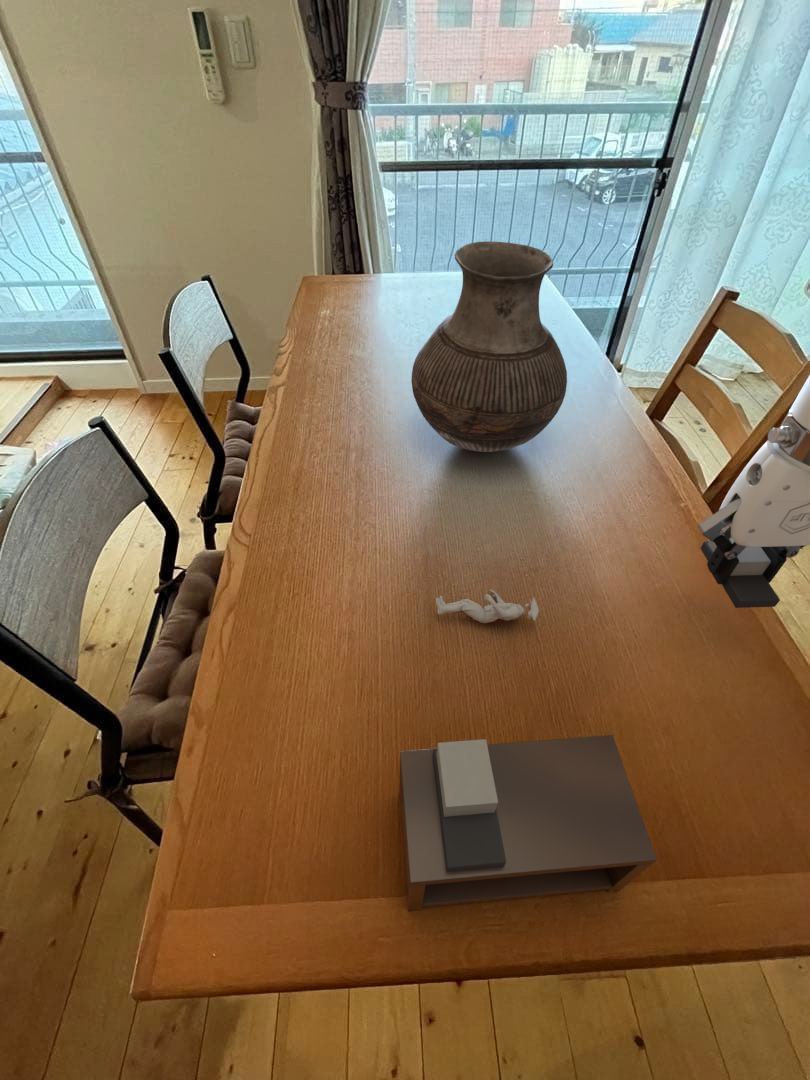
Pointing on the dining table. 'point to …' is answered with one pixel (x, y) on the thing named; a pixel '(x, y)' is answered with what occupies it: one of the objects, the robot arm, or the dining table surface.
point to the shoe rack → (531, 824)
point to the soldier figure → (488, 609)
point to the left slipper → (468, 806)
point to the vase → (492, 354)
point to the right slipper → (747, 578)
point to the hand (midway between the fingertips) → (737, 572)
